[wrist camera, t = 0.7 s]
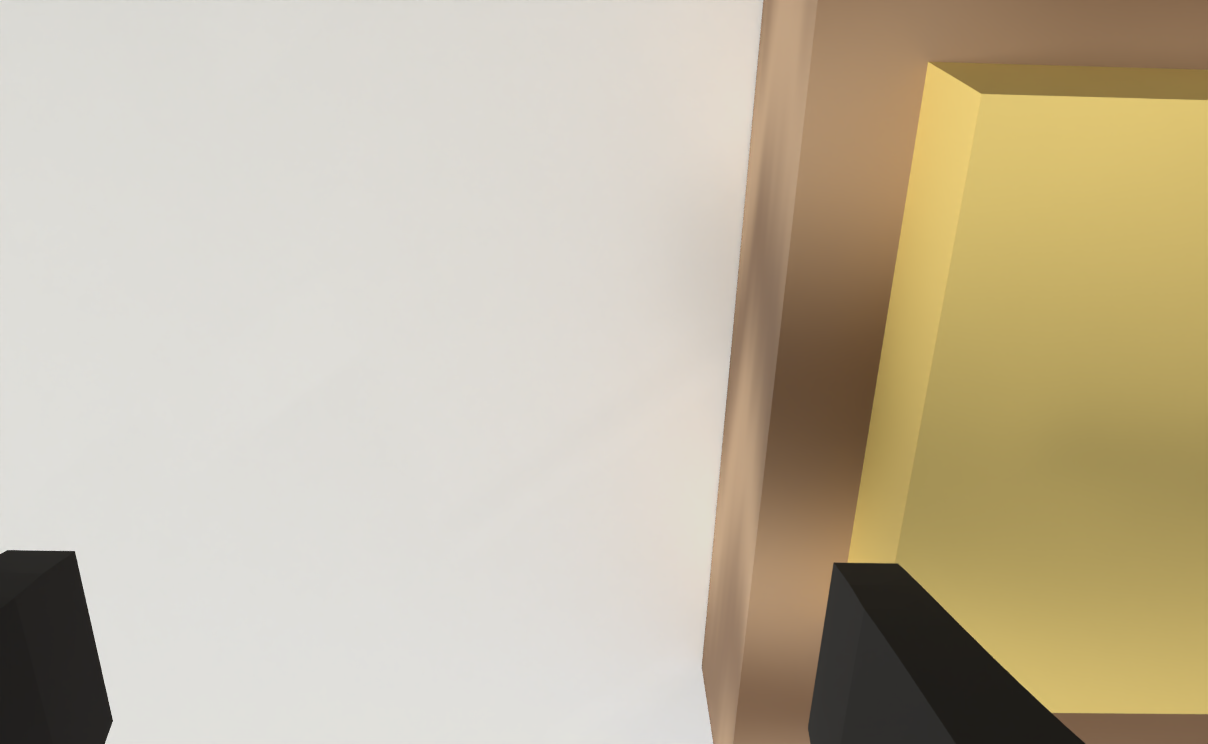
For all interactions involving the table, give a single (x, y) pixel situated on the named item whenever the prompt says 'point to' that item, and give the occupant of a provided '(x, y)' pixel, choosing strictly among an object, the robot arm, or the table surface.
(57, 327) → the table surface
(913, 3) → the brown wooden block
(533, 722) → the table surface
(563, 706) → the table surface
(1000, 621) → the flat yellow block
